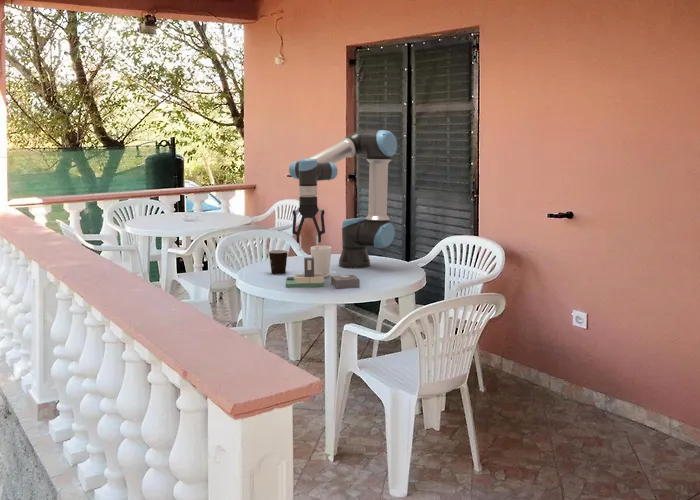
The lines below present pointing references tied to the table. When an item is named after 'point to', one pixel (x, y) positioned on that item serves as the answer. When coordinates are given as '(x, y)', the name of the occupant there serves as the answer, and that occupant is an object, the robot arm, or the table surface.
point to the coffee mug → (278, 261)
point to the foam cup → (321, 259)
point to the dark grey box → (345, 281)
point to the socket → (309, 278)
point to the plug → (309, 267)
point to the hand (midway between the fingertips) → (308, 250)
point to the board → (291, 283)
